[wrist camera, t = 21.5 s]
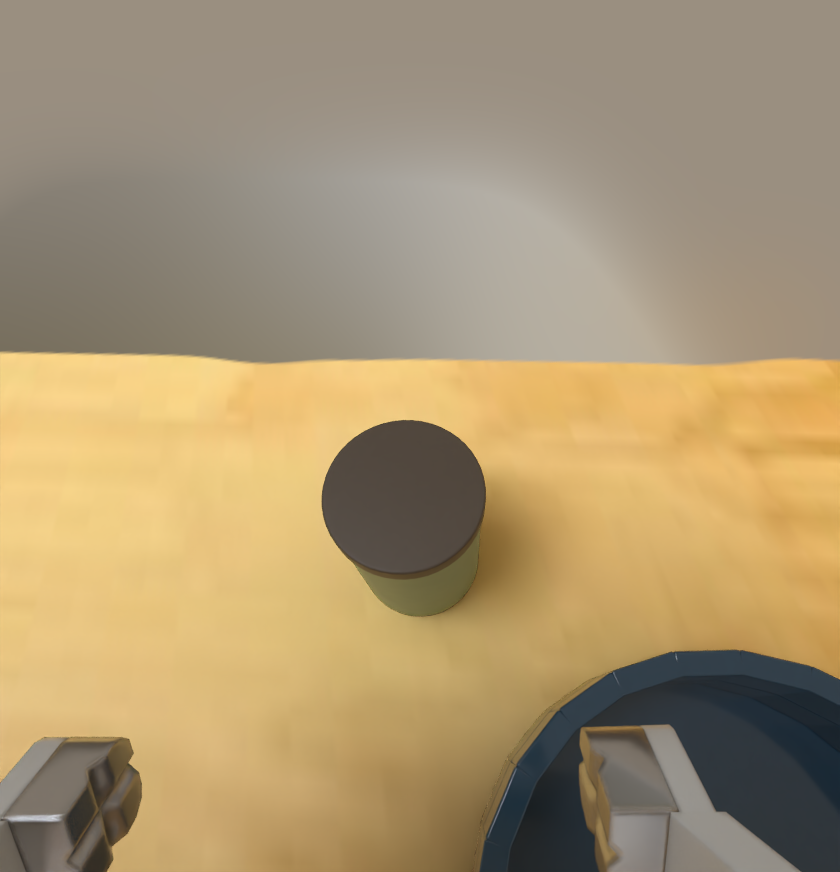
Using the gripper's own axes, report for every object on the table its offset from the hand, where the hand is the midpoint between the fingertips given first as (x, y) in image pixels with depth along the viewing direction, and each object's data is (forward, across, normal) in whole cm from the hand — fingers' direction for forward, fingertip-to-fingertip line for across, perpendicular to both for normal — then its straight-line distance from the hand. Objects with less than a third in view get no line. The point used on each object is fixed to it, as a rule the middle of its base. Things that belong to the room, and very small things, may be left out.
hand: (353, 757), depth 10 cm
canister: (+15, 0, +4) cm, 15 cm away
